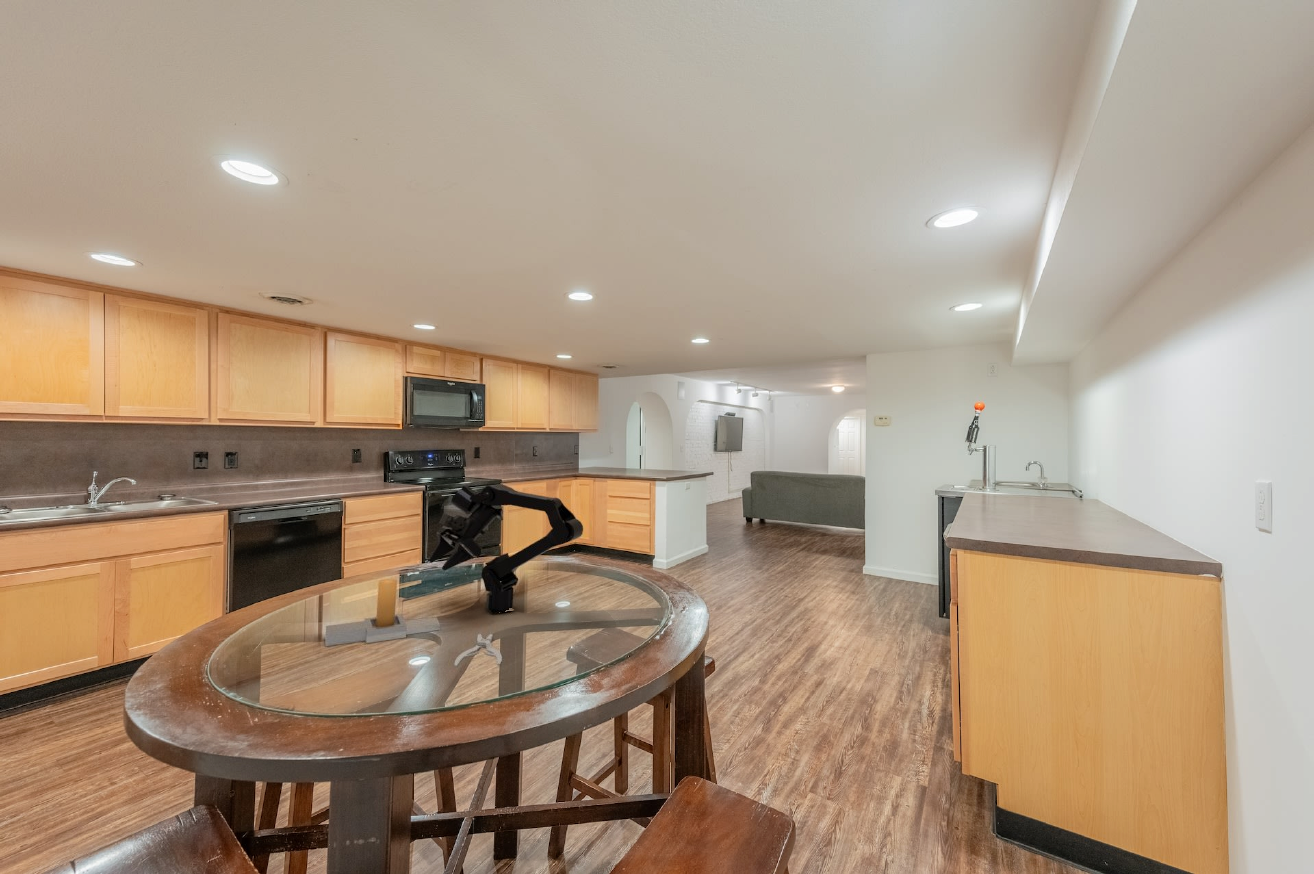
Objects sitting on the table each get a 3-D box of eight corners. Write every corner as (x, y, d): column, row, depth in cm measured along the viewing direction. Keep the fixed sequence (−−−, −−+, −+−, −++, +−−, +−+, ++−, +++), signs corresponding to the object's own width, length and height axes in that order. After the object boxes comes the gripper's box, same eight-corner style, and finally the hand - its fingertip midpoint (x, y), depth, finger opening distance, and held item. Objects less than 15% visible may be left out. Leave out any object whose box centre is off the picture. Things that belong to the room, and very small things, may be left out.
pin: (396, 631, 128) (399, 579, 128) (389, 637, 124) (393, 583, 124) (379, 630, 127) (382, 578, 127) (372, 637, 123) (375, 583, 123)
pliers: (453, 661, 111) (464, 634, 126) (453, 668, 111) (463, 640, 126) (501, 659, 113) (506, 633, 128) (500, 666, 113) (505, 639, 128)
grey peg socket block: (434, 621, 136) (435, 609, 136) (441, 632, 129) (441, 620, 129) (325, 635, 122) (325, 623, 122) (325, 649, 115) (326, 636, 115)
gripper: (445, 498, 150) (403, 540, 142) (474, 508, 137) (429, 554, 129) (469, 523, 156) (430, 564, 148) (499, 534, 142) (458, 580, 135)
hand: (436, 565), depth 140 cm, fingers open, 9 cm apart
